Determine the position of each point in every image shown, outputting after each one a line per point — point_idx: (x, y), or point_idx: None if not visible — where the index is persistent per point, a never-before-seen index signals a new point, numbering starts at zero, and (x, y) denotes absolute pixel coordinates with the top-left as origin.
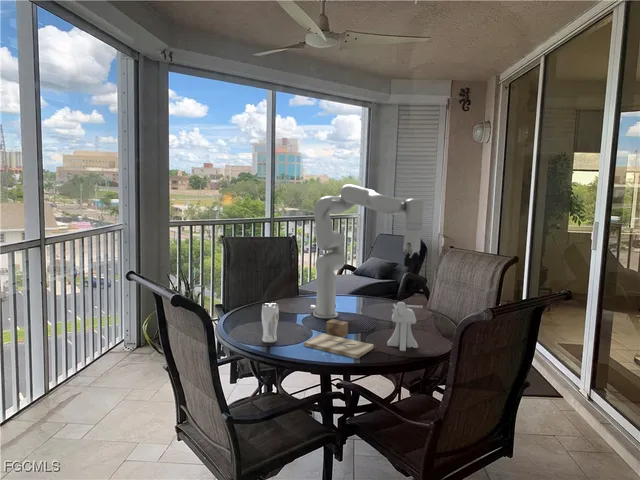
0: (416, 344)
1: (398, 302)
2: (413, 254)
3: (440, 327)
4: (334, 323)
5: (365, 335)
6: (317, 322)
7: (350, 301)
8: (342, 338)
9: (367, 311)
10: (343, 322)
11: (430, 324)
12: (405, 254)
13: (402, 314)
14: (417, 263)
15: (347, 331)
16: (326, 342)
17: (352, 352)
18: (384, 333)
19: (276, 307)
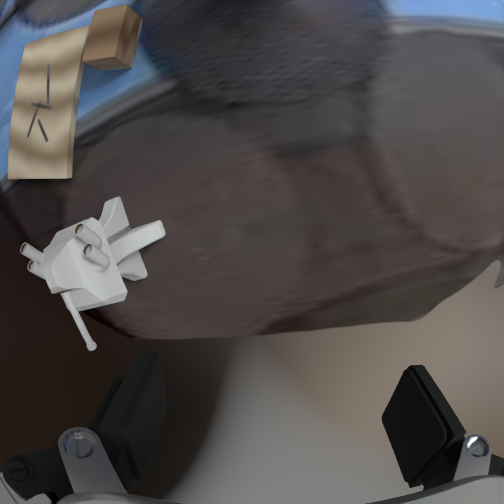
0: (130, 279)
1: (52, 263)
2: (457, 450)
3: (365, 300)
4: (88, 35)
5: (156, 109)
6: None
7: (484, 5)
8: (71, 86)
9: (430, 48)
10: (105, 47)
11: (385, 268)
12: (24, 461)
13: (44, 278)
14: (385, 418)
15: (124, 64)
16: (36, 77)
17: (11, 162)
18: (208, 153)
19: None
